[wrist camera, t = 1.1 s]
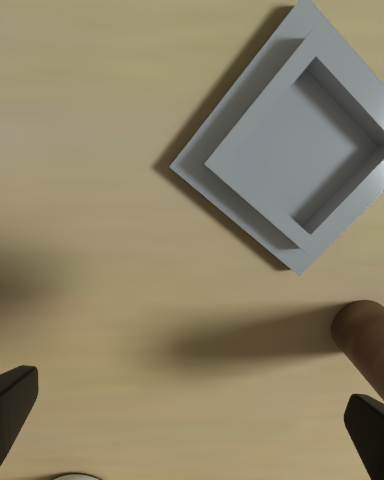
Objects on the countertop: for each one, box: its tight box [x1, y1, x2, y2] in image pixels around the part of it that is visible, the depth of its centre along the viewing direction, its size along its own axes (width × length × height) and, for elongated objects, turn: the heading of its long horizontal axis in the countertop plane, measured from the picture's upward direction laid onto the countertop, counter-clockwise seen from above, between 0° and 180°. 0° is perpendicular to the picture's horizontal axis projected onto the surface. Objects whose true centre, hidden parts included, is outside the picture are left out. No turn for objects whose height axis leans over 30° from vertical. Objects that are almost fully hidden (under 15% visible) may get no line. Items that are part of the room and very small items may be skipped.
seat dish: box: [170, 0, 384, 276], centre depth 17 cm, size 12×12×3 cm
